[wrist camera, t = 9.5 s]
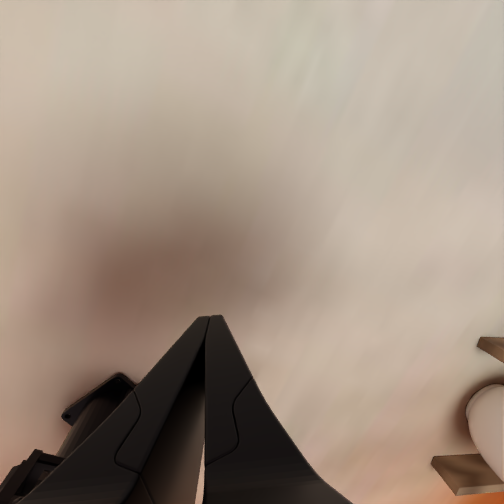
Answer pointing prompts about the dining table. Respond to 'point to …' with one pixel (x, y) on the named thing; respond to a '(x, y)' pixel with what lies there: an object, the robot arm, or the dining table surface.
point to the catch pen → (472, 466)
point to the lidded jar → (488, 425)
